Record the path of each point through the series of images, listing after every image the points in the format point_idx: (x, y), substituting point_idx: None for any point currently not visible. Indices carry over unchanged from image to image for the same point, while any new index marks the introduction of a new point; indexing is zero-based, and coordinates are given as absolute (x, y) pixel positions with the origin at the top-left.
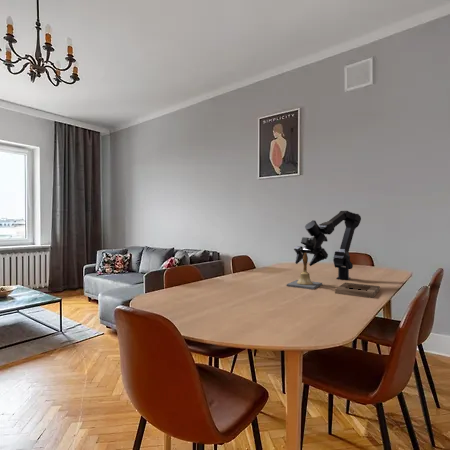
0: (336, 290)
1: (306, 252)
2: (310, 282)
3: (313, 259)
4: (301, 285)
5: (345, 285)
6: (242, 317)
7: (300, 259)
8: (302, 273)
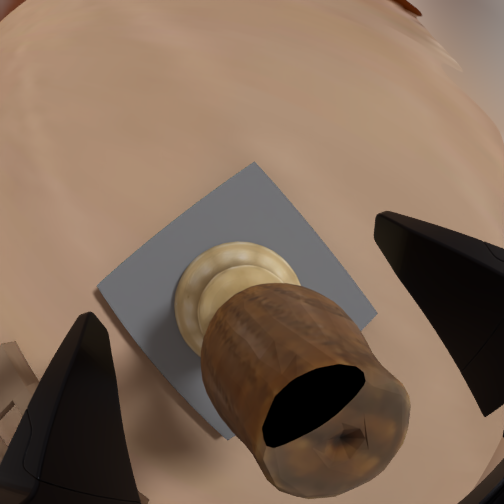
0: (3, 346)
1: (487, 489)
2: (186, 329)
3: (29, 404)
4: (177, 239)
5: None
6: (31, 17)
7: (448, 329)
8: (229, 271)
